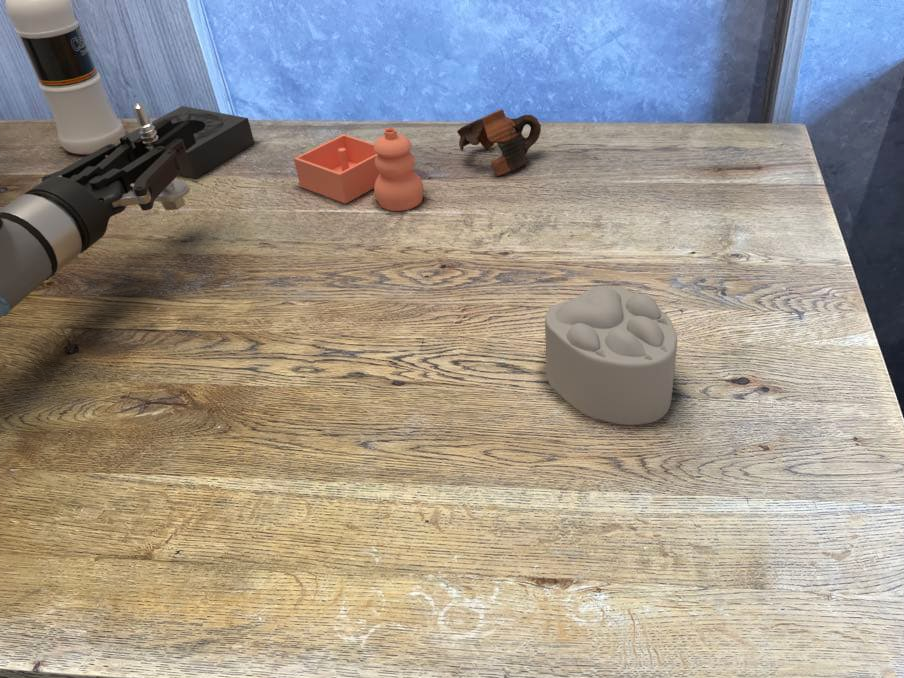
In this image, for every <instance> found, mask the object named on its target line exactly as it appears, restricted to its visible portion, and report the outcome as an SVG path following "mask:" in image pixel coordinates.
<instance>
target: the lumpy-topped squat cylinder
mask: <svg viewBox="0 0 904 678" xmlns="http://www.w3.org/2000/svg"><path fill="white" fill-rule="evenodd" d="M544 334H545V340H544V341H545V342H544V343H545V370H546V371H545V372H546V374H545V375H546V380H547V382H548V384H549V385H550V387H551V388H552V389H553V390H554V391H555V392H556V393H557V394H558V395H559V396H560V397H561V398H562V399H564V401H566V402H567V403H568V404H569V405H571V406H572V407H574V408H575V409H576V410H577V411H578V412H580V413H582V414H583V415H585V416H587V417H590V418H593V419H596V420H598V421H603V422H607V423H611V424H615V425H616V424H617V425H624V426H625V425H628V426H631V425H633V426H635V425H647V424H651V423H655V422H656V421H659V420H660V419H662V418H663V417H665V415H666V414H667V413H668V412H669V409H670V408H671V403H672V397H673V390H674V389H673V388H674V378H675V369H676V360H677V350H678V335H677V331H676V329H675V326H674V324H673V322H672V320H671V318H670V317H669V316H668V315H667V314H666V313H665V312H664V311H662V310H661V309H660V308H659V305H658V303H657V302H656V300H655V299H654V298H653V297H652V296H650V295H648V294H645V293H634V292H632V291H631V290H629V289H626V288H624V287H621V286H617V285H597V286H593V287H591V288H589V289H586V290H585V291H584V292H582V293H581V294H579V295H578V296H575V297H574V298H570V299H568V300H565V301H562V302H559V303H557V304H554V305H553V306H551V307H550V308H549V309H547V311H546V313H545V317H544Z"/></svg>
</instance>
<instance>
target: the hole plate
mask: <svg viewBox="0 0 904 678" xmlns="http://www.w3.org/2000/svg"><path fill="white" fill-rule="evenodd" d="M164 120H171V122H172V125H173V128H176V127H177V126H178V125H180V124H181V123H183V122H184V121H185V122H190V125H191V128H192V131H193V134H194V138H195V141H196V144H194V145H193V146H192V147H190V148H189V149H188V150H186V151H185V153H183V154H182V155H180V156H179V157H178V161H179V164H180V167H181V170H182V171H181V173H180V174H179V175H178V176H180V177H185V178H190V179H195V180H196V179H198V178H200V177H201V176H203V175H205V174H206V173H209V172H210V171H212V170H213V169H214V168H216V167H219V166H220V165H221V164H223V163H224V162H227V161H228V160H230V159H231V158H232V157H234V156H236V155H237V154H239V153H240V152H242V151H244V150H246V149H247V148H249V147H251V146H253V145H254V144H255V139H254V136H253V132H252V128H251V125H250V121H249V118H248V117H246V116H245V117H244V116H239V115H235V114H228V113H222V112H217V111H211V110H207V109H200V108H196V107H195V108H194V107H190V106H186V105H185V106H184V105H182V106H180V107H177V108H176V109H174V110H172V111H170V112H168V113H166V114H164V115H162V116H159V118H156V119H154V120H153V121H152V125H153V126H154V127H156V126H157V125H159V124H160V123H161V122H163V121H164ZM139 131H140V128H137V129H135V130H133V131H132V132H129V133H127V134H125V136H124V137H129V138H130V141H131V143H133V142H134V141H135V140H137V139H138V138H140V137H141V136H142V135H141V133H139Z"/></svg>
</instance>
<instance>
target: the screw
mask: <svg viewBox="0 0 904 678" xmlns="http://www.w3.org/2000/svg"><path fill="white" fill-rule="evenodd" d="M133 113H134V116H135V118H136V121H137V124H138V126H137V129H139V128H140V131H139V133H141V135H142V136H141V138H143V140H144V141H143V143H145V146H144V147H145V148H146V149H147V151H146V152H147V153H148V152H149V151H151V150H153V149H154V146H153V143H155V142H156V141H157V140H158V136H157V135H156V133H157V132H156V131H155V130H154V128H155V127H154V126H153V125H152V122H153V121H152V120H150V116H149V114H148V112H147V109H146V107H145V105H144V104H143V103H140V102H136V103H135V104H134V105H133ZM190 191H191V188H190V185H189V184H188V183H187V182H185V181H183V180H180V179H174V180H173V181H172V182H171V183H170V184H169V185H168V186H167V187H166V188H165V189H164V190H163V191H162V193H161V194H160V195H159V196H158V197H157V198H156V199H155V200H154V202H157V203H161V206H162V207H163V209H164V210H165V211H175V210H176V211H177V210H179V209H181V208H182V207H184V206H185V205H186V202H185V200H184V197H185V196H186V195H188V194H189V193H190Z"/></svg>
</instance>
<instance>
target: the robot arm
mask: <svg viewBox="0 0 904 678" xmlns="http://www.w3.org/2000/svg"><path fill="white" fill-rule="evenodd" d="M154 130H155V131H156V132H157V133H156V135H157V136H158V140H157V141H156V142H155V143H153V146H154V149H153V150H151V151H149V152H148V153H147V152H146V151H147V149H146V148H145V147H144V146H145V143H143V141H144V140H143V138H141V137H140V138H138V139H137V140H135V141H134V142H133V143H131V141H130V138H129V137H122V138H120V142H121V143H120V144H121V145H119V146H115V145H114V144H108V145H106V146H104V147H102V148H101V149H99V150H97V151H95V152H93V153H91V154H89V155H85V156H84V157H82V158H80V159H79V160H77V161H75V162H73V163H71V164H69V165H68V166H65V167H64V168H62V169H60V170H58V171H55V172H52V173H49V174H47V175H44V176H41V182H39V183H38V184H36V185H35V186H33V187H32V188H31V189H29V190H27V191H26V192H25V193H24V194H22V195H20V196H18V197H17V198H15V199H14V200H12V201H11V202H10V203H8V204H6V205H4V206H3V207H2V208H1V209H0V318H3V317H6V316H7V315H9V314H10V313H11V311H12V310H13V309H15V307H16V306H18V305H19V304H20V303H21V302H22V301H23V300H24V299H25V298H27V297H28V296H29V295H30V294H31V293H33V292H34V291H35V290H36V289H37V288H39V287H40V286H41V285H42V284H43V283H45V282H47V281H48V280H49V279H50V278H51V277H54V276H55V274H56V273H57V272H59V271H60V270H61V269H63V268H64V267H65V266H66V265H68V264H69V263H71V262H72V261H74V259H77V257H79V255H80V254H82V253H84V252H85V251H87V250H88V249H89V248H90V247H91V246H93V245H94V244H95V243H96V242H98V241H99V240H101V239H102V238H103V237H104V236H105V234H106V233H107V229H108V226H109V225H108V224H109V221H110V219H111V217H113V216H115V215H118V214H120V213H123V212H124V211H125V210H126V208H127V207H128V206H138V207H140V209H141V211H149V210H152V209H153V207H154V203H155V201H154V200H155V199H156V198H157V197H158V196H159V195H160V194H161V193H162V191H163V190H164V189H165V188H166V187H167V186H168V185H169V184H170V183H171V182H172V181H173V180H176V178H177V177H178V176H180V175H179V174H180V173H181V171H182V170H181V167H180V164H179V161H178V157H179V156H180V155H182V154H183V153H185V151H186V150H188V149H189V148H190V147H192V146H193V145H194V144H196V141H195V138H194V134H193V131H192V128H191V125H190V122H185V121H184V122H183V123H181V124H180V125H178V126H177V127H176V128H173V125H172V122H171V120H164V121H163V122H161V123H160V124H159V125H157V126H156V127H155V128H154Z"/></svg>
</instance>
